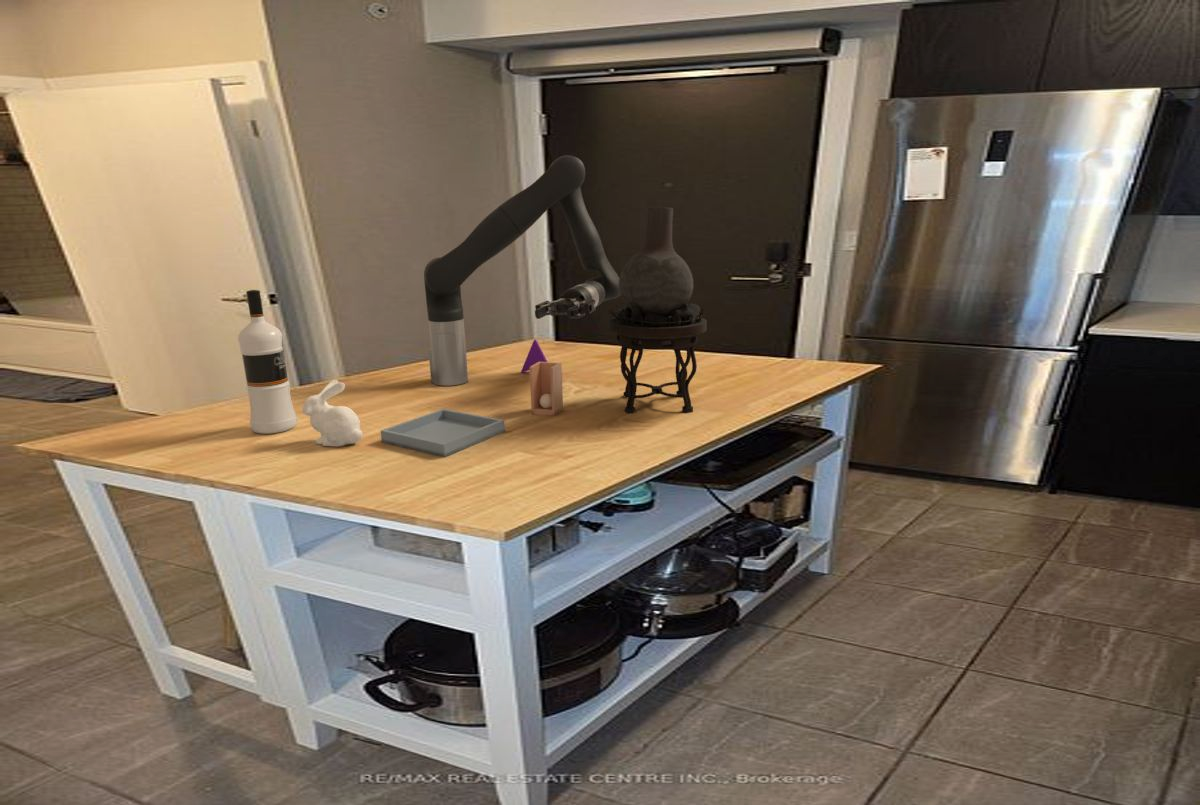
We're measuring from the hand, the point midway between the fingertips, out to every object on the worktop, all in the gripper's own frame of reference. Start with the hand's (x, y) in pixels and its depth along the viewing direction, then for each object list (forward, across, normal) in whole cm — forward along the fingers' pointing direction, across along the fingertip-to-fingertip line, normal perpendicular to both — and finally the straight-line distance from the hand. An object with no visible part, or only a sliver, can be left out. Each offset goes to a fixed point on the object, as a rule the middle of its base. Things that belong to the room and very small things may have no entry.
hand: (553, 314), depth 158 cm
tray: (+34, -11, +18) cm, 40 cm away
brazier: (-3, +23, +23) cm, 32 cm away
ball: (+11, +1, +18) cm, 21 cm away
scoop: (+11, +1, +20) cm, 23 cm away
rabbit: (+43, -31, +16) cm, 56 cm away
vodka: (+41, -50, +16) cm, 67 cm away
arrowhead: (-23, -19, +22) cm, 38 cm away
